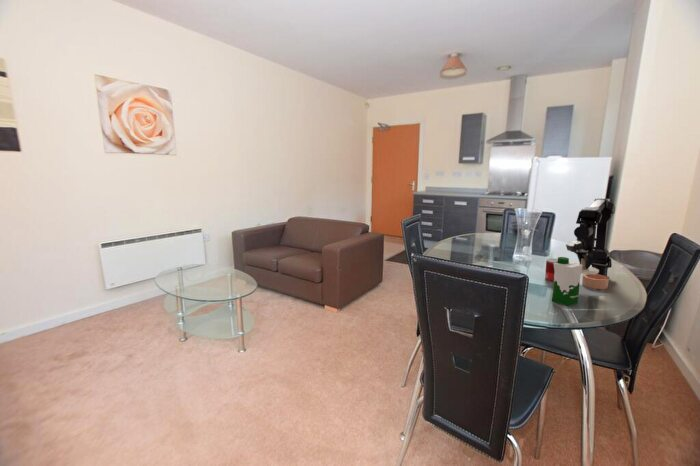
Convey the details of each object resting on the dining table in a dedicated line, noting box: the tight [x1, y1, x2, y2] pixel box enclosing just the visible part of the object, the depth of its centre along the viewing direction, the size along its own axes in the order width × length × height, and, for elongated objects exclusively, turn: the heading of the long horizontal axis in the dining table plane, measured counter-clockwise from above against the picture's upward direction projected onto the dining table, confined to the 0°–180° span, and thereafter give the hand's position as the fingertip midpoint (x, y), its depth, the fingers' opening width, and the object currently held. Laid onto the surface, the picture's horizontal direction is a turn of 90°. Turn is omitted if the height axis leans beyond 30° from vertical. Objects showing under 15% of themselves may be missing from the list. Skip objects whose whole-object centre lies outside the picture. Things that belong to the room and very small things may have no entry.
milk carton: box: [551, 256, 583, 307], centre depth 135 cm, size 9×9×20 cm
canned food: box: [544, 258, 558, 283], centre depth 164 cm, size 8×8×11 cm
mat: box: [578, 284, 609, 297], centre depth 149 cm, size 14×14×1 cm
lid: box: [581, 258, 599, 275], centre depth 146 cm, size 11×11×6 cm
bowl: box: [581, 274, 610, 290], centre depth 154 cm, size 10×10×5 cm
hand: (584, 267), depth 147 cm, fingers closed on lid, 3 cm apart
